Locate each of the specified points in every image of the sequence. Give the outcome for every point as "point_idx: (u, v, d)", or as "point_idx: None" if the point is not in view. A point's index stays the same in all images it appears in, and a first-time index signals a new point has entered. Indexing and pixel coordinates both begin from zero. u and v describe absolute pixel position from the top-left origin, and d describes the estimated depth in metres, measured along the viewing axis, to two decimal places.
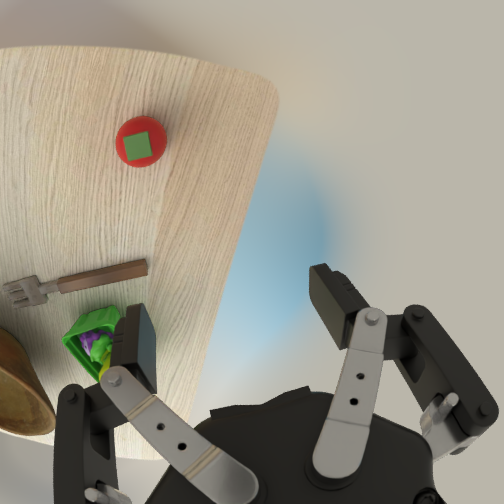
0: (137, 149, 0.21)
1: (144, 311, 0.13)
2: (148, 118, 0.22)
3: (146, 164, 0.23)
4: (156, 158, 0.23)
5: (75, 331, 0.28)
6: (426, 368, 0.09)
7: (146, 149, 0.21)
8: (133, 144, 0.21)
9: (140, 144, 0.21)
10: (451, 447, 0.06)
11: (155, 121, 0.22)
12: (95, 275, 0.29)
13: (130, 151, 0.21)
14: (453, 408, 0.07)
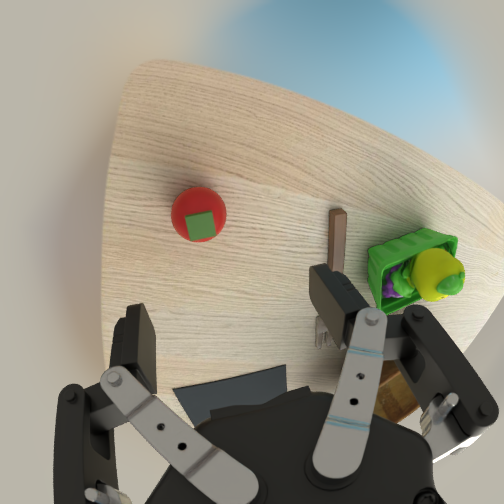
0: (204, 227, 0.22)
1: (144, 311, 0.13)
2: (173, 209, 0.23)
3: (223, 213, 0.23)
4: (217, 202, 0.23)
5: (378, 301, 0.31)
6: (426, 368, 0.09)
7: (204, 218, 0.22)
8: (198, 231, 0.22)
9: (198, 224, 0.22)
10: (451, 447, 0.06)
11: (176, 202, 0.22)
12: (332, 263, 0.31)
13: (205, 233, 0.22)
14: (453, 408, 0.07)
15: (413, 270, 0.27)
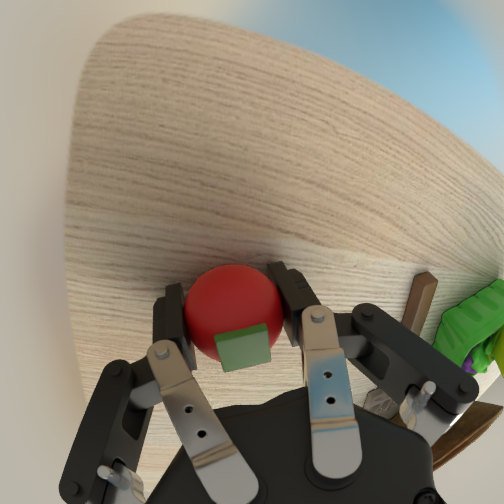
0: (250, 352, 0.11)
1: (182, 291, 0.14)
2: (187, 314, 0.12)
3: (281, 318, 0.12)
4: (272, 302, 0.12)
5: None
6: (391, 364, 0.09)
7: (253, 340, 0.11)
8: (239, 358, 0.11)
9: (241, 349, 0.11)
10: (443, 430, 0.07)
11: (194, 301, 0.12)
12: None
13: (252, 361, 0.12)
14: (432, 395, 0.07)
15: (499, 346, 0.17)
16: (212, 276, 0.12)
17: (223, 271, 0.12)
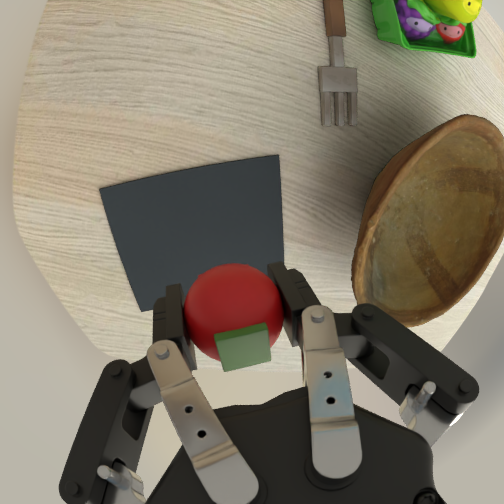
0: (250, 351, 0.11)
1: (182, 291, 0.14)
2: (187, 313, 0.12)
3: (282, 317, 0.12)
4: (273, 301, 0.12)
5: (395, 24, 0.17)
6: (391, 364, 0.09)
7: (253, 339, 0.11)
8: (239, 358, 0.11)
9: (241, 348, 0.11)
10: (443, 430, 0.07)
11: (194, 300, 0.12)
12: None
13: (252, 360, 0.12)
14: (432, 395, 0.07)
15: None
16: (212, 275, 0.12)
17: (223, 270, 0.12)
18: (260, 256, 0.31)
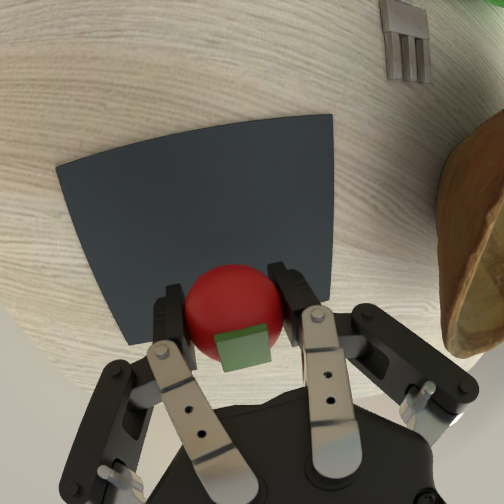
0: (251, 352, 0.11)
1: (182, 291, 0.14)
2: (188, 313, 0.12)
3: (282, 318, 0.12)
4: (273, 302, 0.12)
5: None
6: (391, 364, 0.09)
7: (253, 339, 0.11)
8: (240, 358, 0.11)
9: (241, 349, 0.11)
10: (443, 430, 0.07)
11: (194, 301, 0.12)
12: None
13: (252, 361, 0.12)
14: (432, 395, 0.07)
15: None
16: (212, 276, 0.12)
17: (223, 271, 0.12)
18: (299, 266, 0.21)
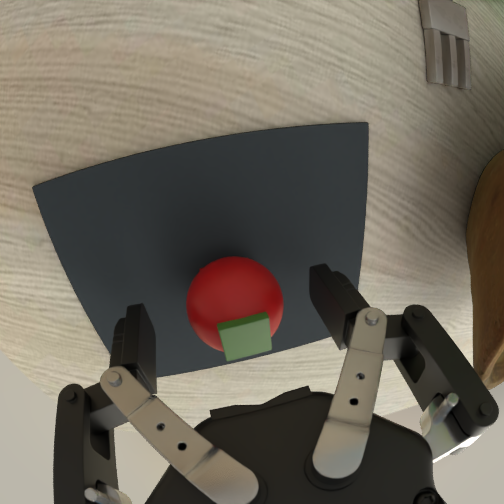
0: (252, 340, 0.12)
1: (144, 311, 0.13)
2: (191, 304, 0.12)
3: (281, 308, 0.13)
4: (273, 292, 0.12)
5: None
6: (426, 368, 0.09)
7: (255, 328, 0.11)
8: (241, 347, 0.12)
9: (243, 337, 0.12)
10: (452, 447, 0.06)
11: (197, 292, 0.12)
12: None
13: (254, 349, 0.12)
14: (453, 408, 0.07)
15: None
16: (214, 267, 0.13)
17: (224, 263, 0.13)
18: None
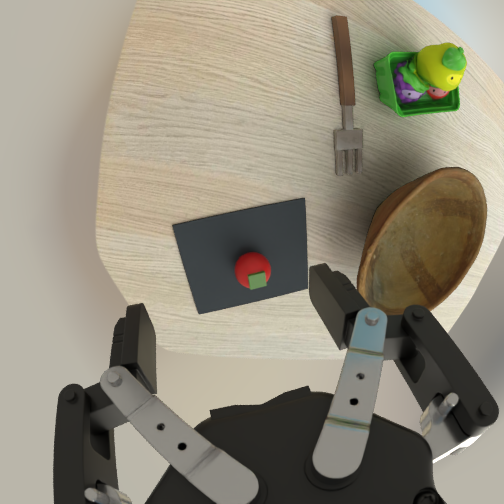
0: (259, 281, 0.35)
1: (144, 311, 0.13)
2: (237, 269, 0.36)
3: (270, 270, 0.36)
4: (266, 264, 0.36)
5: (392, 96, 0.27)
6: (426, 368, 0.09)
7: (260, 276, 0.35)
8: (255, 283, 0.35)
9: (256, 279, 0.35)
10: (451, 447, 0.06)
11: (240, 264, 0.36)
12: (341, 60, 0.27)
13: (260, 285, 0.35)
14: (453, 408, 0.07)
15: (417, 60, 0.23)
16: (245, 256, 0.36)
17: (249, 254, 0.36)
18: (290, 270, 0.41)
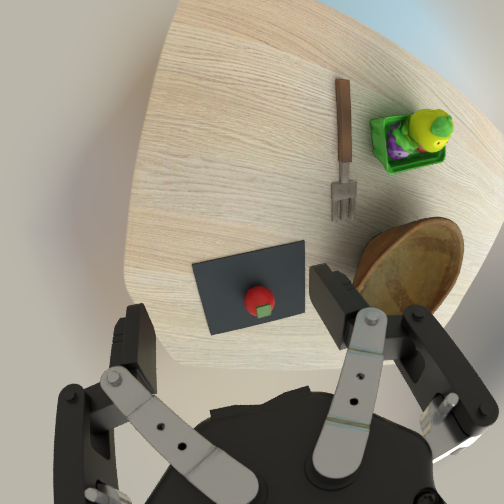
0: (265, 311, 0.42)
1: (144, 311, 0.13)
2: (247, 301, 0.42)
3: (274, 302, 0.43)
4: (271, 297, 0.42)
5: (384, 157, 0.34)
6: (426, 368, 0.09)
7: (266, 307, 0.41)
8: (262, 313, 0.42)
9: (263, 310, 0.41)
10: (451, 447, 0.06)
11: (249, 297, 0.42)
12: (341, 122, 0.34)
13: (266, 314, 0.42)
14: (453, 408, 0.07)
15: (409, 124, 0.30)
16: (254, 290, 0.42)
17: (257, 288, 0.43)
18: (290, 298, 0.48)
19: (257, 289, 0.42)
